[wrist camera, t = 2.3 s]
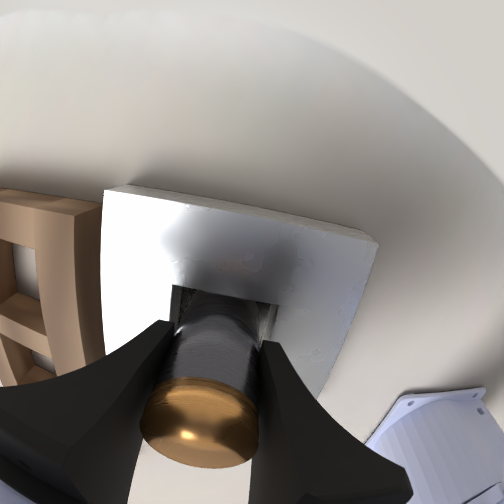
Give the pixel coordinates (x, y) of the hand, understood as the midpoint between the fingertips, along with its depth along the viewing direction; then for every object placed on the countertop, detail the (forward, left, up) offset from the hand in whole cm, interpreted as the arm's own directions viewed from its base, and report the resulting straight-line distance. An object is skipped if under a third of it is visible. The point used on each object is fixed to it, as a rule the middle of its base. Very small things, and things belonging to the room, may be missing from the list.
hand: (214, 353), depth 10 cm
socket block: (0, 0, -3) cm, 3 cm away
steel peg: (0, 0, -3) cm, 3 cm away
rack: (+11, +6, -3) cm, 12 cm away
